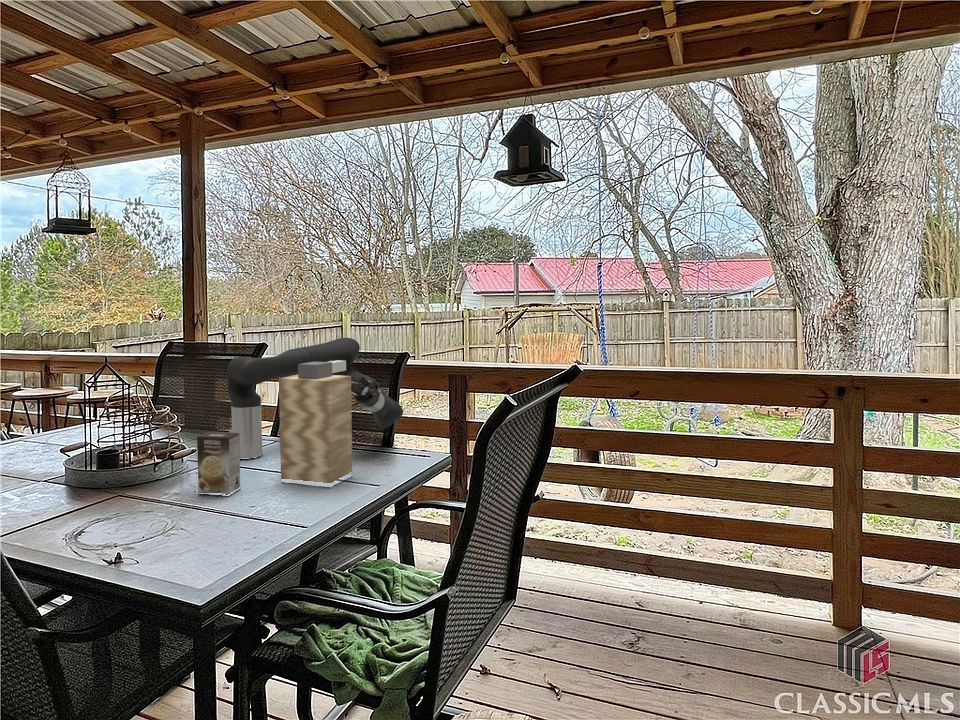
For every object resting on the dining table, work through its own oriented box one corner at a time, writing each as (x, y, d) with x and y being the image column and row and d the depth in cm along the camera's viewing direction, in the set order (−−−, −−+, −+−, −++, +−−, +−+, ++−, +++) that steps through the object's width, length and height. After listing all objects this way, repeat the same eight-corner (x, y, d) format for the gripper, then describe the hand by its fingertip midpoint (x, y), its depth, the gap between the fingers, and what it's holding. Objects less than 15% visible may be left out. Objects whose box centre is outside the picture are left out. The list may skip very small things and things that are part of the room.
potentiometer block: (298, 378, 171) (298, 364, 170) (333, 371, 188) (333, 358, 188) (316, 379, 169) (316, 364, 168) (350, 372, 186) (350, 359, 186)
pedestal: (281, 482, 173) (278, 378, 170) (305, 471, 184) (303, 373, 182) (330, 488, 168) (328, 380, 165) (352, 476, 180) (351, 376, 177)
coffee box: (197, 495, 161) (194, 436, 159) (210, 488, 167) (208, 431, 166) (230, 497, 160) (228, 437, 159) (241, 489, 166) (240, 432, 165)
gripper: (353, 386, 209) (331, 366, 195) (391, 388, 205) (371, 368, 191) (348, 406, 206) (325, 388, 192) (386, 409, 202) (366, 390, 188)
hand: (348, 378), depth 191 cm, fingers open, 8 cm apart
